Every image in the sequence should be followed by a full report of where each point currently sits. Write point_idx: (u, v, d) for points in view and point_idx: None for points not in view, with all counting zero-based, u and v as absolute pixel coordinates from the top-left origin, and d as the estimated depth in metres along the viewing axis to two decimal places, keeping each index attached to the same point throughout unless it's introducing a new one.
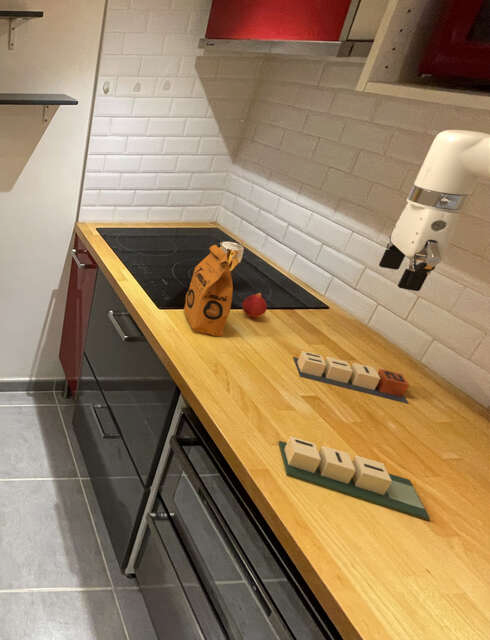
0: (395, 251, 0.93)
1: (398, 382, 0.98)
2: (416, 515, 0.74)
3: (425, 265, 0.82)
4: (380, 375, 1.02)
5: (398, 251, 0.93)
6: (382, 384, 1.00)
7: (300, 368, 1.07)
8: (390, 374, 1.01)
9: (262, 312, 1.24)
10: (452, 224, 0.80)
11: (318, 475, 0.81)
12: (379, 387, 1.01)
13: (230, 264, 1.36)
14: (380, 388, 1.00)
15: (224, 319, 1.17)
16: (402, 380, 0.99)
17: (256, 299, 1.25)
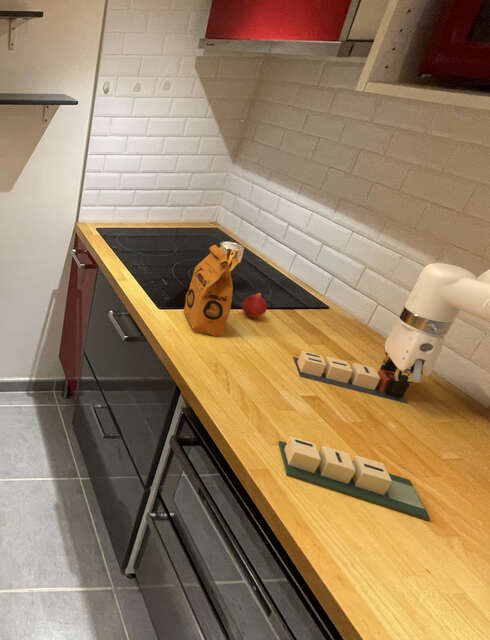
0: (390, 367, 1.01)
1: None
2: (416, 515, 0.74)
3: (407, 379, 0.95)
4: (380, 375, 1.02)
5: (393, 367, 1.01)
6: (382, 384, 1.00)
7: (300, 368, 1.07)
8: (390, 374, 1.01)
9: (262, 312, 1.24)
10: (438, 347, 0.91)
11: (318, 475, 0.81)
12: (379, 387, 1.01)
13: (230, 264, 1.36)
14: (380, 388, 1.00)
15: (224, 319, 1.17)
16: None
17: (256, 299, 1.25)
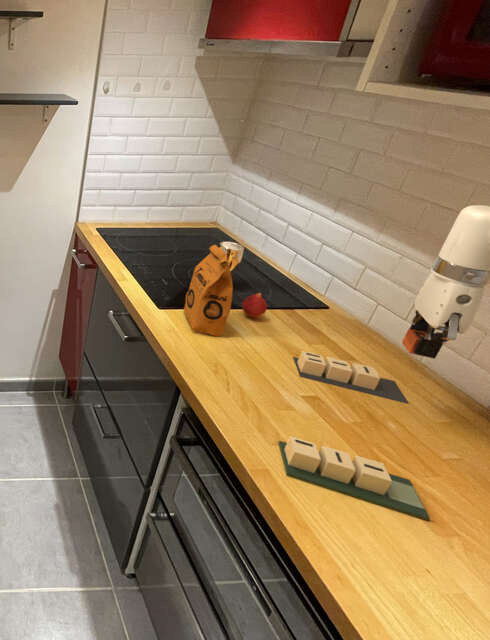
0: (421, 327, 0.92)
1: None
2: (416, 515, 0.74)
3: (440, 336, 0.85)
4: (409, 335, 0.92)
5: (424, 327, 0.92)
6: (411, 345, 0.91)
7: (300, 368, 1.07)
8: (421, 334, 0.91)
9: (262, 312, 1.24)
10: (477, 298, 0.81)
11: (318, 475, 0.81)
12: (408, 348, 0.92)
13: (230, 264, 1.36)
14: (409, 350, 0.91)
15: (224, 319, 1.17)
16: None
17: (256, 299, 1.25)
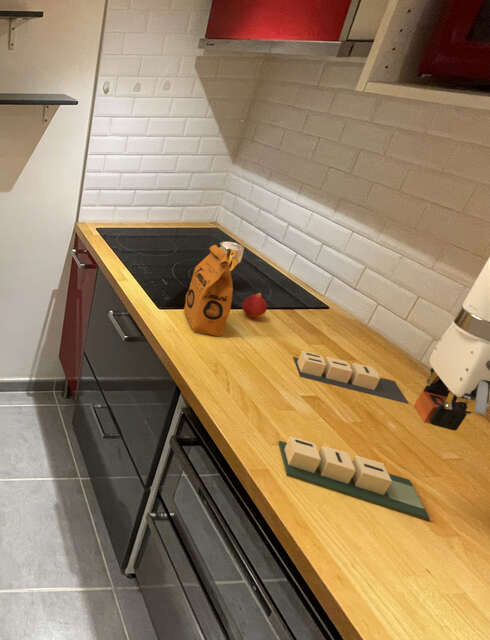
0: (438, 389, 0.75)
1: None
2: (416, 515, 0.74)
3: (465, 407, 0.68)
4: (423, 400, 0.75)
5: (442, 390, 0.75)
6: (426, 413, 0.74)
7: (300, 368, 1.07)
8: (437, 399, 0.74)
9: (262, 312, 1.24)
10: None
11: (318, 475, 0.81)
12: (422, 416, 0.75)
13: (230, 264, 1.36)
14: (424, 418, 0.74)
15: (224, 319, 1.17)
16: None
17: (256, 299, 1.25)
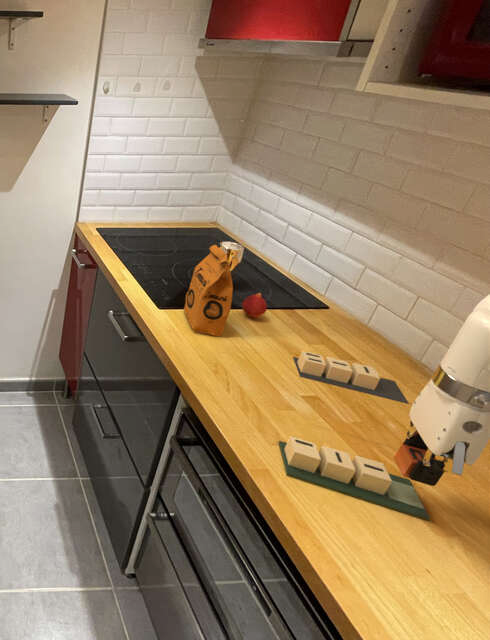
0: (418, 443, 0.76)
1: None
2: (416, 515, 0.74)
3: (443, 466, 0.69)
4: (403, 453, 0.76)
5: (421, 443, 0.75)
6: (406, 467, 0.74)
7: (300, 368, 1.07)
8: (417, 453, 0.75)
9: (262, 312, 1.24)
10: (489, 427, 0.65)
11: (318, 475, 0.81)
12: (402, 470, 0.75)
13: (230, 264, 1.36)
14: (403, 472, 0.75)
15: (224, 319, 1.17)
16: None
17: (256, 299, 1.25)
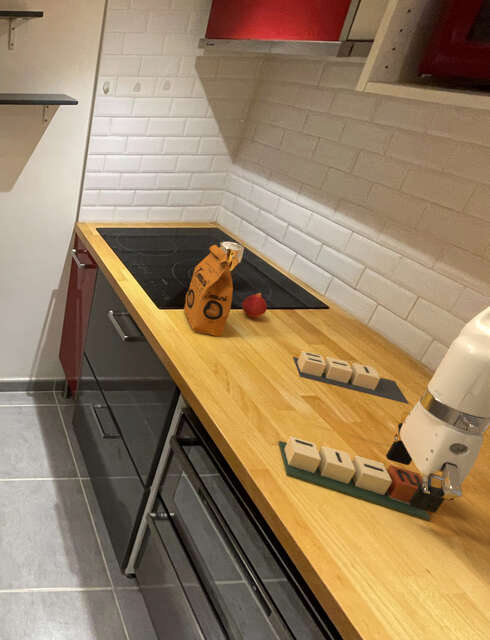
0: (405, 445, 0.79)
1: (415, 487, 0.75)
2: (416, 515, 0.74)
3: (442, 494, 0.68)
4: (390, 474, 0.78)
5: None
6: (393, 488, 0.77)
7: (300, 368, 1.07)
8: (404, 474, 0.77)
9: (262, 312, 1.24)
10: (475, 449, 0.67)
11: (318, 475, 0.81)
12: (389, 491, 0.77)
13: (230, 264, 1.36)
14: (391, 493, 0.77)
15: (224, 319, 1.17)
16: (420, 485, 0.75)
17: (256, 299, 1.25)
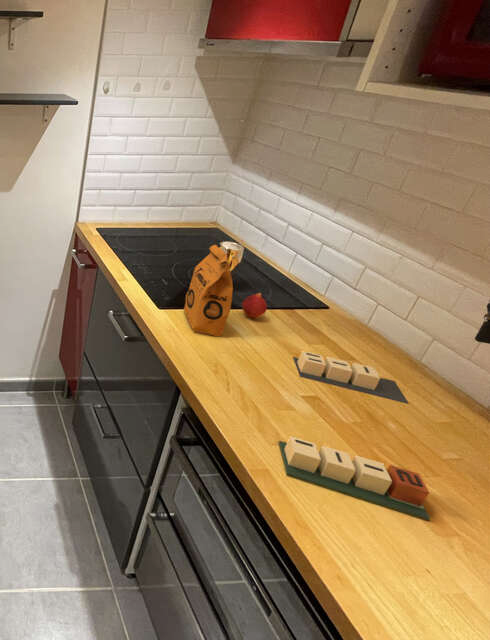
0: None
1: (415, 487, 0.75)
2: (416, 515, 0.74)
3: None
4: (390, 474, 0.78)
5: None
6: (393, 488, 0.77)
7: (300, 368, 1.07)
8: (404, 474, 0.77)
9: (262, 312, 1.24)
10: None
11: (318, 475, 0.81)
12: (389, 491, 0.77)
13: (230, 264, 1.36)
14: (391, 493, 0.77)
15: (224, 319, 1.17)
16: (420, 485, 0.75)
17: (256, 299, 1.25)
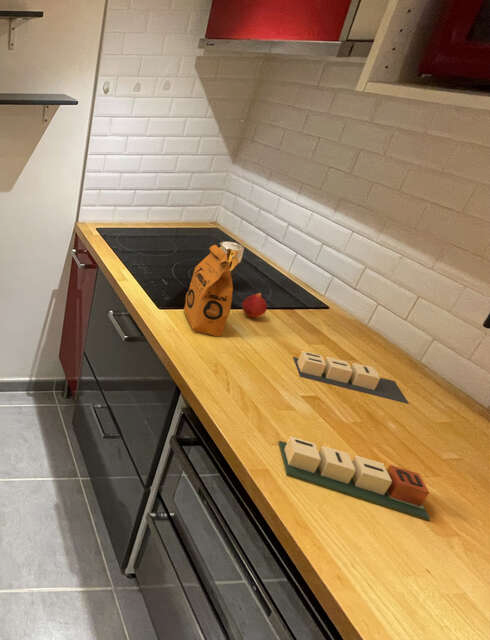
0: None
1: (415, 487, 0.75)
2: (416, 515, 0.74)
3: None
4: (390, 474, 0.78)
5: None
6: (393, 488, 0.77)
7: (300, 368, 1.07)
8: (404, 474, 0.77)
9: (262, 312, 1.24)
10: None
11: (318, 475, 0.81)
12: (389, 491, 0.77)
13: (230, 264, 1.36)
14: (391, 493, 0.77)
15: (224, 319, 1.17)
16: (420, 485, 0.75)
17: (256, 299, 1.25)
